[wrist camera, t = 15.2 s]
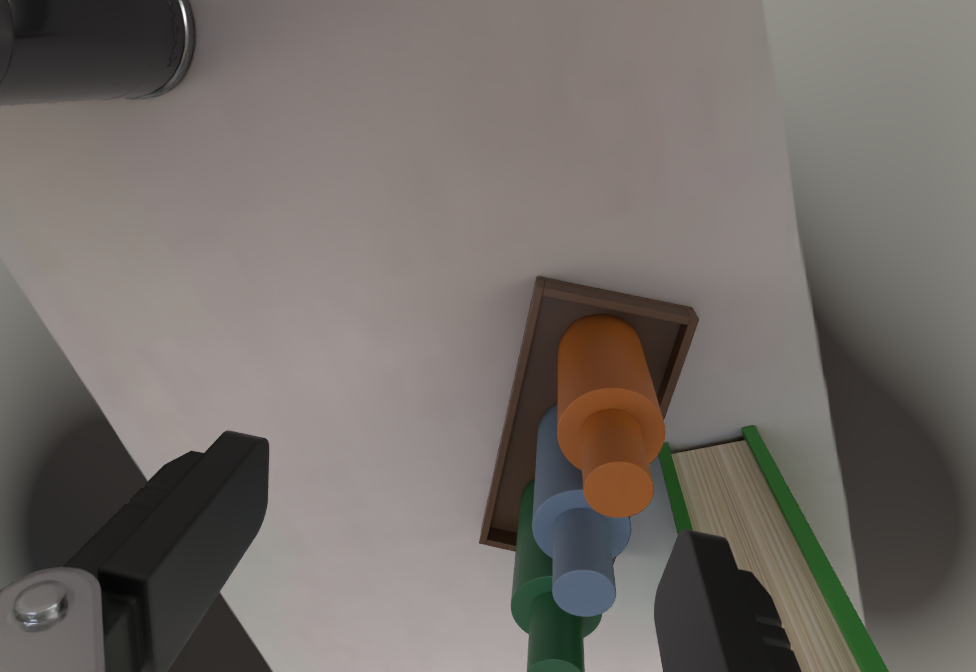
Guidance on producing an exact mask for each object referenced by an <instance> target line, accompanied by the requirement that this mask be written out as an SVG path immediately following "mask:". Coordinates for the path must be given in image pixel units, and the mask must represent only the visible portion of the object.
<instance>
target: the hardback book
mask: <svg viewBox="0 0 976 672" xmlns="http://www.w3.org/2000/svg"><path fill="white" fill-rule="evenodd" d="M742 432H743V437H744V440H743V441H738V442H732V443H727V444H722V445H717V446H711V447H706V448H701V449H696V450H691V451H685V452H680V453H675V454H671V452H670V448H669V445H668V442H667V443H663V446H662V448H661V450H660V452H659V454H658V455H659V459H660V463H661V467H662V471H663V475H664V480H665V484H666V488H667V492H668V496H669V500H670V504H671V508H672V512H673V516H674V520H675V524H676V528H677V532H678V535H679V533H680V532H681V531H682V530H683V529H689V530H693V531H698V532H703V533H708V534H712V535H717V536H722V537H725V538H726V539H727V541H728V542H729V545H730V548H731V550H732V553H733V556H734V559H735V562H736V564H737V567H738V569H741V570H746V571H750V572H752V573H753V574H754V576H755V577H756V578H757V579H758V580H759V582H760V583H761V584H762V585H763V587H764V588H765V589H766V590H767V592H768V593H769V594H770V595H771V596H772V599H773V601H774V604H775V606H776V609H777V611H778V614H779V616H780V619H781V621H782V628H784V629H785V631H786V634H787V636H788V639H789V641H790V644H791V647H790V648H791V650H793V651H794V654H795V656H796V658H797V661H798V663H799V666H800V668H801V671H802V672H889V671H888V669H887V667H886V666H885V664H884V662H883V660H882V658H881V656H880V655H879V653H878V651H877V649H876V647H875V645H874V644H873V642H872V640H871V638H870V636H869V634H868V633H867V631H866V629H865V627H864V625H863V623H862V622H861V620H860V618H859V616H858V614H857V612H856V611H855V609H854V607H853V605H852V603H851V601H850V600H849V598H848V596H847V594H846V592H845V590H844V589H843V587H842V585H841V583H840V581H839V579H838V578H837V576H836V574H835V572H834V570H833V568H832V567H831V565H830V563H829V561H828V559H827V557H826V556H825V554H824V552H823V550H822V548H821V546H820V545H819V543H818V541H817V539H816V537H815V535H814V534H813V532H812V530H811V528H810V526H809V524H808V523H807V521H806V519H805V517H804V515H803V513H802V512H801V510H800V508H799V506H798V504H797V502H796V501H795V499H794V497H793V495H792V493H791V491H790V490H789V488H788V486H787V484H786V482H785V480H784V479H783V477H782V475H781V473H780V471H779V469H778V468H777V466H776V464H775V462H774V460H773V458H772V457H771V455H770V453H769V451H768V449H767V447H766V446H765V444H764V442H763V440H762V438H761V437H760V435H759V433H758V431H757V429H756V427H755V426H749V427H744V428H742Z"/></svg>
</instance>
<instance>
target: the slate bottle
mask: <svg viewBox="0 0 976 672" xmlns="http://www.w3.org/2000/svg"><path fill="white" fill-rule="evenodd" d="M532 531H533V535H534V538H535V540H536V542H537V544H538V546H539V547H540V548H541V549H542V550H543V552H544V553H546V554H547V555H548V556H549V557H551V558H552V559H553V577H552V594H553V598H554V600H555V602H556V603H557V605H558V606H559V607H560V608H561V609H563V610H564V611H566V612H568V613H570V614H572V615H576V616H582V617H590V616H596V615H599V614H601V613H604V612H605V611H607V610H608V609H609V608H610V607H611V606H612V605H613V603H614V601H615V598H616V588H615V578H614V569H613V560H612V559H613V558H615V557H616V556H617V555H619V554H620V553H621V552H622V551H623V549H624V548H625V546H626V545H627V543H628V541H629V538H630V534H631V523H630V517H624V518H614V517H608V516H605V515H602V514H600V513H598V512H597V511H595V510H594V509H593V508H592V507H591V506H590V505H589V504H588V503H587V501H586V499H585V496H584V492H583V476H582V470H580V469H578V468H577V467H575V466H574V465H573V464H572V463H571V462H570V461H569V460H568V459H567V458H566V457H565V455H564V454H563V452H562V450H561V448H560V446H559V442H558V437H557V404H555V405H553V406H552V407H551V408H549V409H548V410H547V411H546V412H545V413H544V415H543V416H542V418H541V420H540V423H539V426H538V437H537V454H536V470H535V486H534V503H533V519H532Z"/></svg>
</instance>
